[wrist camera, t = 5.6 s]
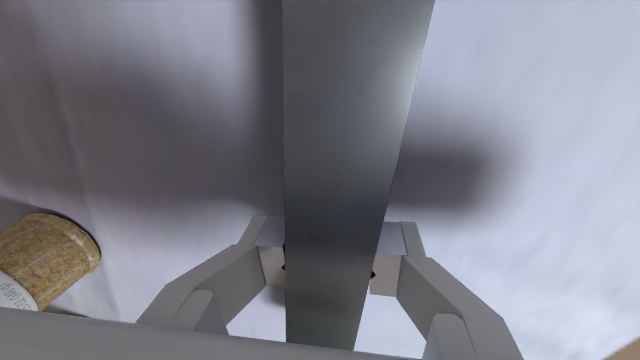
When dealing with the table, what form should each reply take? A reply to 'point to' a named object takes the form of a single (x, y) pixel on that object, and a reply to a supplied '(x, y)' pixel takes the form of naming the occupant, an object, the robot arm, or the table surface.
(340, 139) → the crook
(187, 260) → the table surface
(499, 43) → the table surface
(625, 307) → the table surface
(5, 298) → the sprinkles bottle
